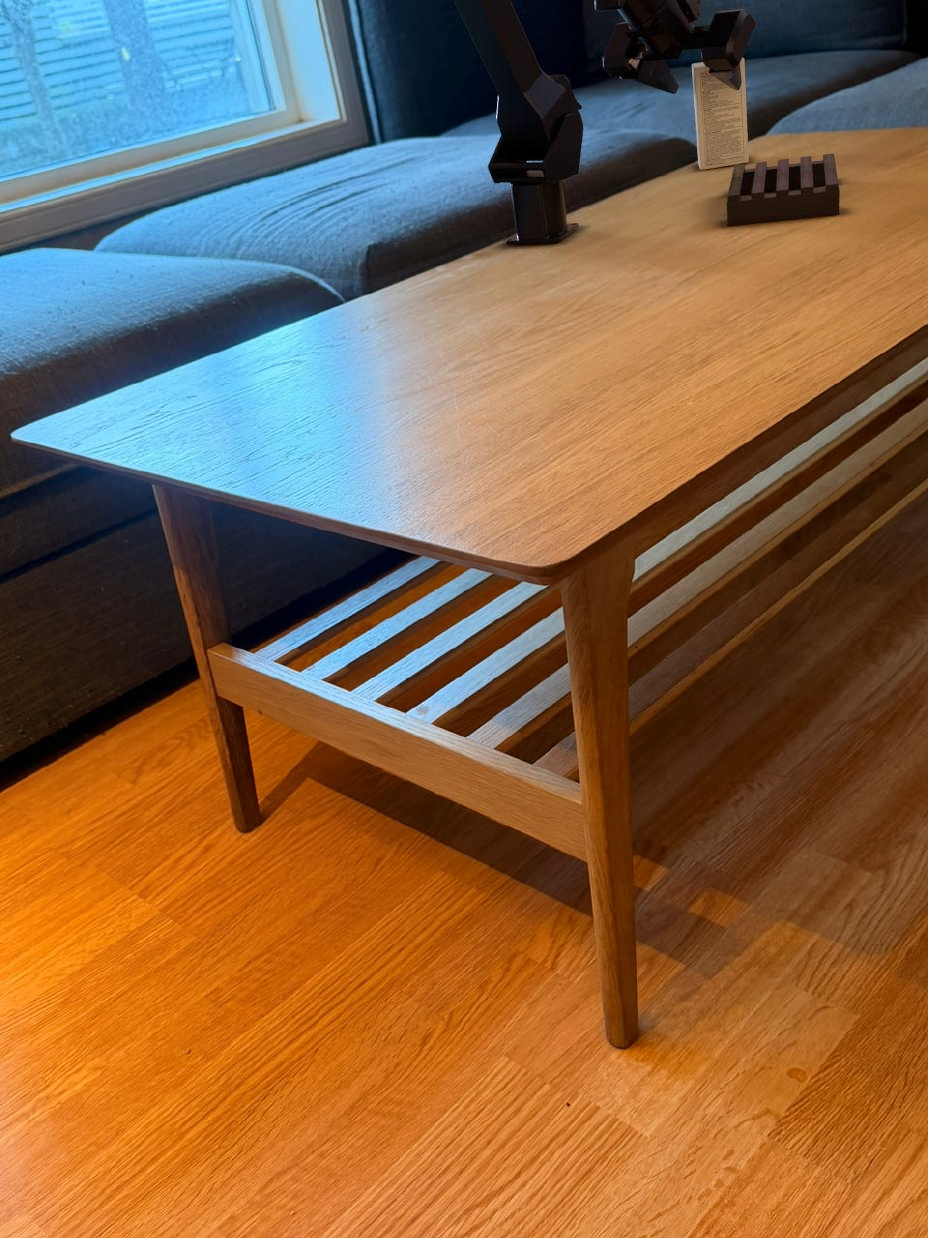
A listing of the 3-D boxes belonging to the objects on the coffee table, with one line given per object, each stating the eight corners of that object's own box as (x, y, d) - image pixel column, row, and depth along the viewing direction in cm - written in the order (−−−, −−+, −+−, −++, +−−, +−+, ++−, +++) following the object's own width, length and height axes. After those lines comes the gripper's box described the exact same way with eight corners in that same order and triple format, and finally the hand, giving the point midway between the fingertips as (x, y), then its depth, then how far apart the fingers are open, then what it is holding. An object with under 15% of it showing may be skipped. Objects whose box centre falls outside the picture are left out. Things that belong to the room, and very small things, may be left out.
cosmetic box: (745, 157, 146) (742, 54, 140) (749, 163, 142) (746, 57, 136) (696, 164, 147) (690, 62, 141) (698, 170, 143) (693, 66, 137)
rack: (839, 214, 113) (839, 183, 112) (727, 225, 116) (726, 195, 115) (834, 181, 126) (835, 152, 125) (734, 192, 129) (733, 164, 128)
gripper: (743, -75, 121) (799, 22, 133) (607, -53, 133) (669, 35, 145) (705, 19, 121) (764, 108, 132) (572, 33, 133) (637, 113, 145)
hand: (707, 88), depth 139 cm, fingers open, 9 cm apart
